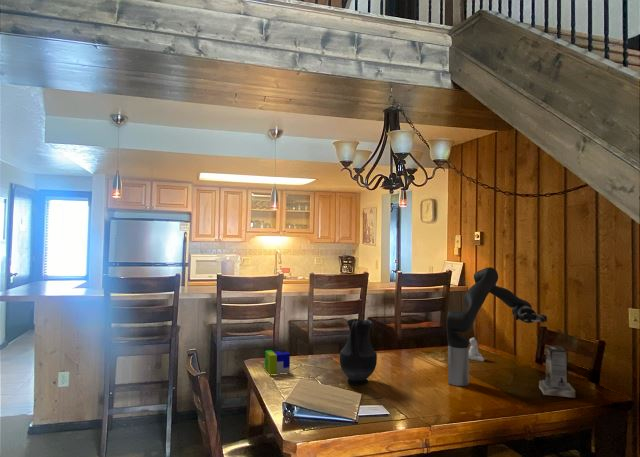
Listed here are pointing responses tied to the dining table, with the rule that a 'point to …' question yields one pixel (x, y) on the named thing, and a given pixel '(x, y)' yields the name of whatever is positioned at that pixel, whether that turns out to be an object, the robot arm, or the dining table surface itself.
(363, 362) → the pitcher
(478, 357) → the seated beast figurine
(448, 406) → the dining table surface
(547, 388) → the plinth
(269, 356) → the puzzle toy
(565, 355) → the coffee box
